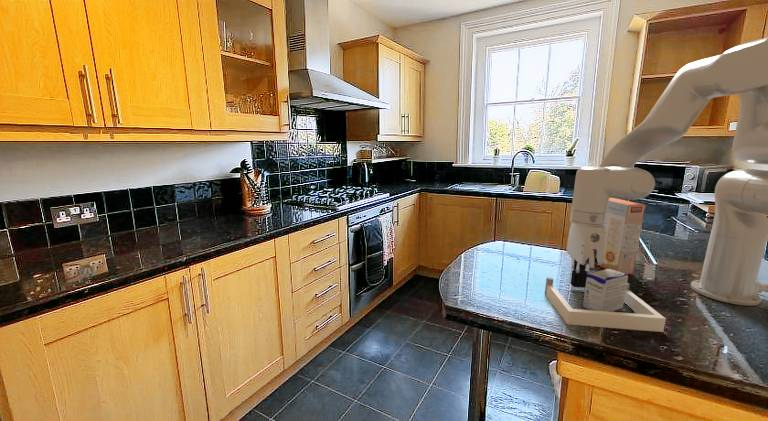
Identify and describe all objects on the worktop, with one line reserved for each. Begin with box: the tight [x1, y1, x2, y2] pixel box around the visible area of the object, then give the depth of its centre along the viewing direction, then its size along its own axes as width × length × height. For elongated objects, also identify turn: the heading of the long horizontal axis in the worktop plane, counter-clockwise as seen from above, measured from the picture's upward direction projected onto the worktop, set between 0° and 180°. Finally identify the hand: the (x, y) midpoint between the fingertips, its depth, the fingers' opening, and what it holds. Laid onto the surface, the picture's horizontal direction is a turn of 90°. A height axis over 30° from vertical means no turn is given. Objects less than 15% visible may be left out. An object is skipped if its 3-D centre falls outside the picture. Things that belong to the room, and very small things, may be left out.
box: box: [582, 269, 629, 312], centre depth 76 cm, size 8×4×9 cm, turn 114°
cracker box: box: [594, 197, 647, 275], centre depth 100 cm, size 14×6×21 cm, turn 6°
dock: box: [544, 276, 667, 333], centre depth 75 cm, size 18×14×4 cm
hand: (578, 285), depth 86 cm, fingers closed
